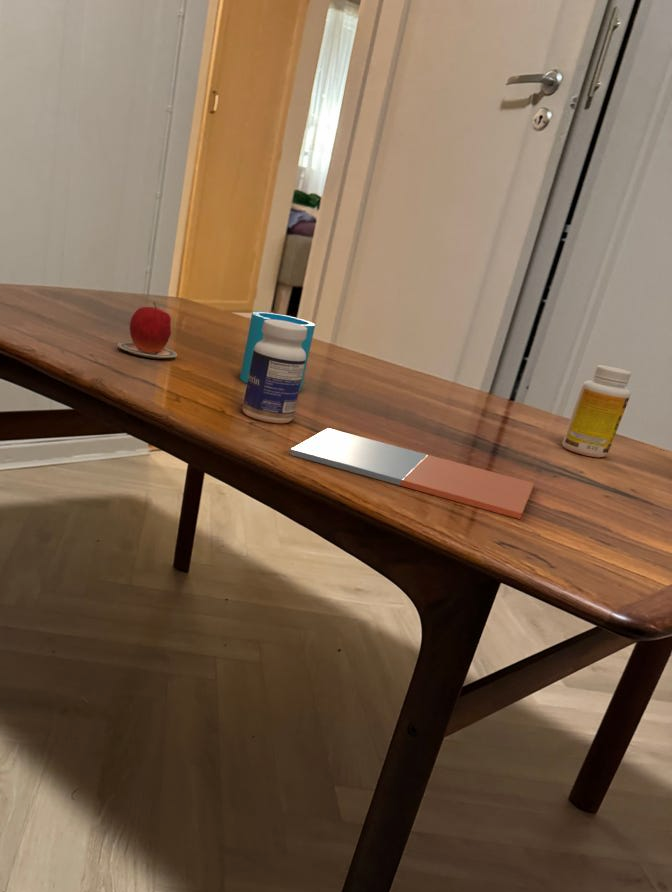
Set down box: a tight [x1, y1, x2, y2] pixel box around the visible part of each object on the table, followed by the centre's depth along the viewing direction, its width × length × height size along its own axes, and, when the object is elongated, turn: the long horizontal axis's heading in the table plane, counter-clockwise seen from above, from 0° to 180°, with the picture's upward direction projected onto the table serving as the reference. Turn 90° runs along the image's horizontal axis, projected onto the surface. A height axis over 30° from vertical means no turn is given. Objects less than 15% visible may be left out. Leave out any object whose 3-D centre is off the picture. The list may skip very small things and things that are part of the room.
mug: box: [239, 311, 316, 392], centre depth 117 cm, size 12×8×8 cm
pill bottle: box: [242, 319, 307, 424], centre depth 97 cm, size 6×6×10 cm
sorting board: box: [289, 427, 535, 520], centre depth 89 cm, size 22×13×1 cm, turn 66°
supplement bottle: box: [562, 364, 632, 458], centre depth 110 cm, size 6×6×10 cm
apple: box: [117, 301, 178, 360], centre depth 121 cm, size 8×8×6 cm
